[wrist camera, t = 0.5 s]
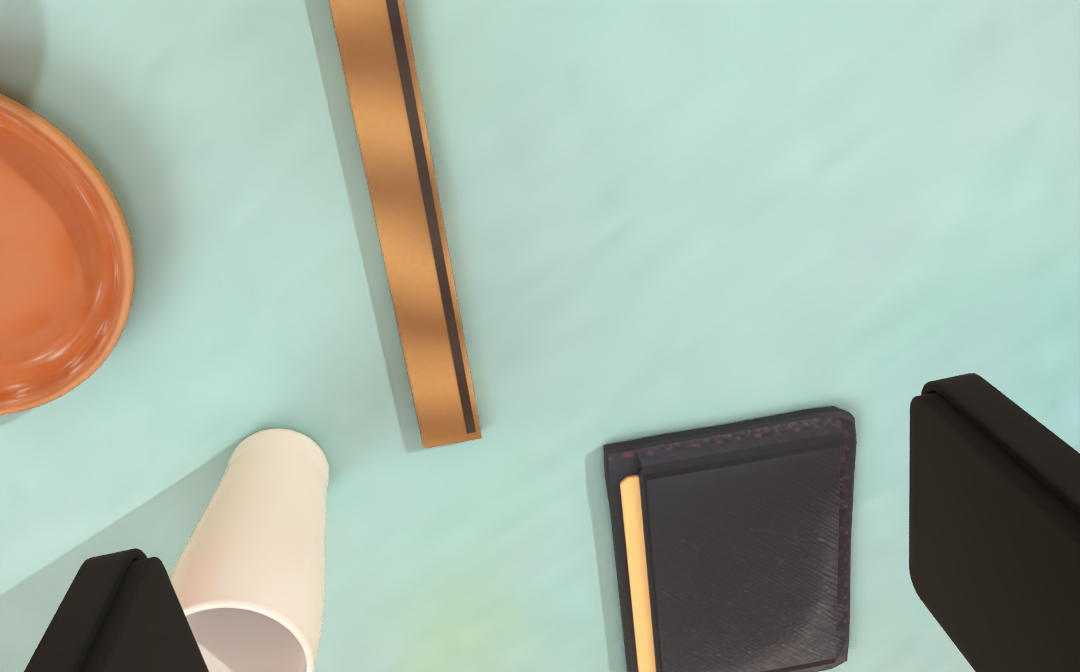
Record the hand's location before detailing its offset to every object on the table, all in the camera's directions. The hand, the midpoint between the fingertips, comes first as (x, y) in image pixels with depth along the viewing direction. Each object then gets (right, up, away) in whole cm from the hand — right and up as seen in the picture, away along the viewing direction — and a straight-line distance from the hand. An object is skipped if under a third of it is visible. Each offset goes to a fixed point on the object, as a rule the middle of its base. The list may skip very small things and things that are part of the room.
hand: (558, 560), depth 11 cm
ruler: (-7, +11, +33) cm, 35 cm away
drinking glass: (-14, -4, +39) cm, 41 cm away
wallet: (+12, -11, +45) cm, 48 cm away
